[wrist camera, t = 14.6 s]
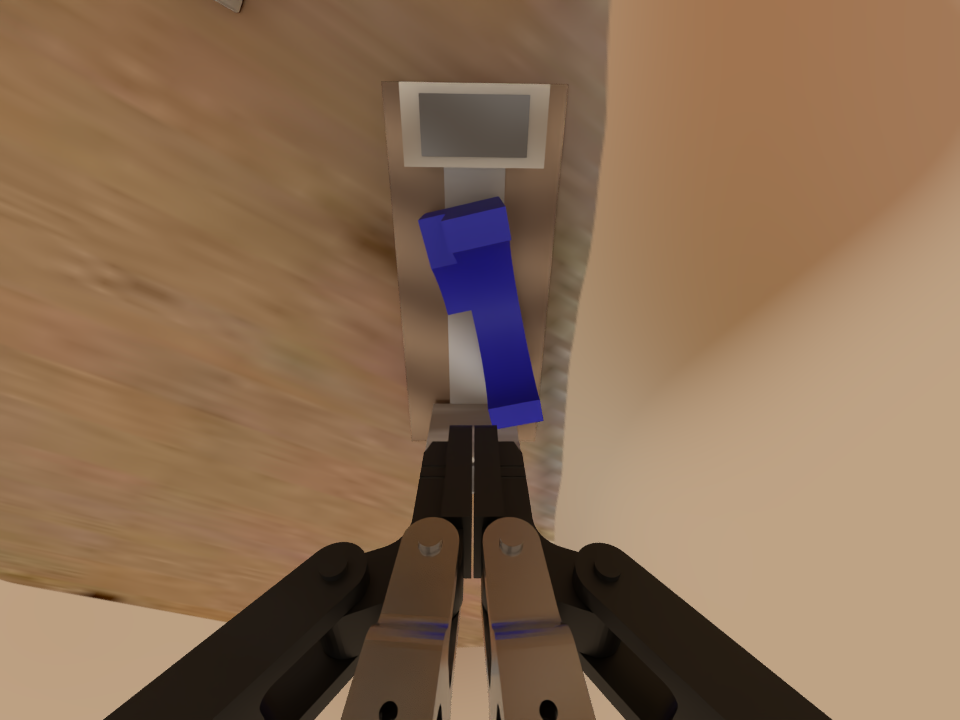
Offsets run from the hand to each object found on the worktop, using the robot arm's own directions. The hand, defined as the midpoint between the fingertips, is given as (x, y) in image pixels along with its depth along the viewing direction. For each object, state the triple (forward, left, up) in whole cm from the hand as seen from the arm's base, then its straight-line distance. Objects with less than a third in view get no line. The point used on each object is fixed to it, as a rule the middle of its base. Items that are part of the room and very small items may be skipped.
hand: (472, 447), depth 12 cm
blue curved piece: (0, +1, -15) cm, 15 cm away
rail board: (0, 0, -17) cm, 17 cm away
